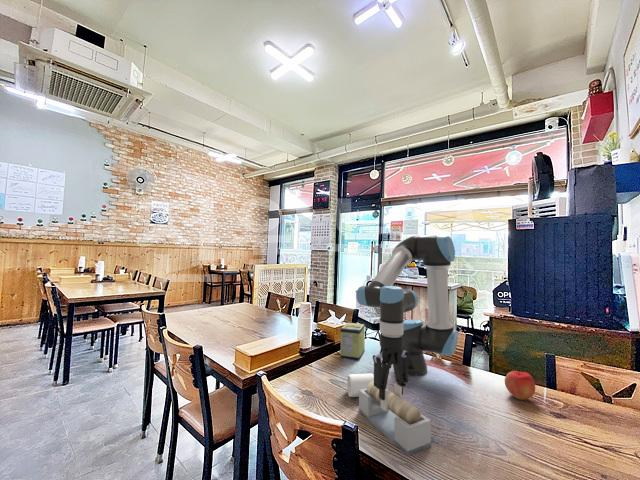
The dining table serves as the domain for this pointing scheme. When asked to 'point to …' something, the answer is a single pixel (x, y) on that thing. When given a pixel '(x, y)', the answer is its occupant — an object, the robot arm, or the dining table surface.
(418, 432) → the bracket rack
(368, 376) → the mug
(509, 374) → the apple
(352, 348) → the protein box
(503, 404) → the dining table surface
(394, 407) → the beige beaded rod
